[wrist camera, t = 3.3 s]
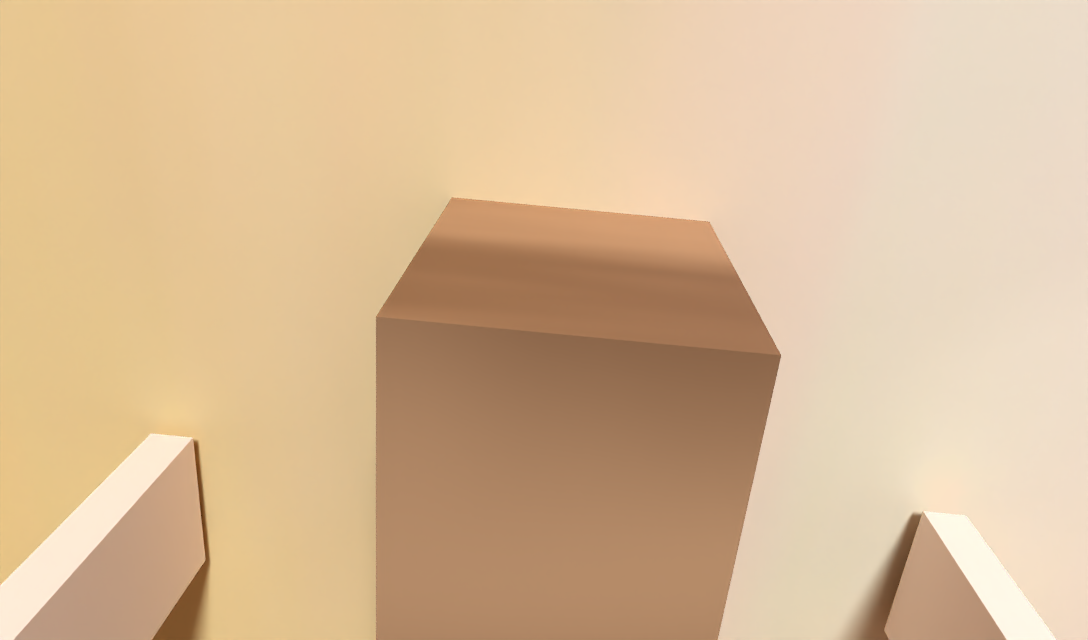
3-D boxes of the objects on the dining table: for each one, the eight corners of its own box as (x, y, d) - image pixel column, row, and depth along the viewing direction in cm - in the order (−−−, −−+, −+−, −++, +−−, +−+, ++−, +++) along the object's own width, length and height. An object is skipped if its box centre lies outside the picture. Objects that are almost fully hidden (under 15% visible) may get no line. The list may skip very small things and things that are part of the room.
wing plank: (453, 194, 12) (375, 316, 8) (707, 218, 12) (781, 355, 8) (432, 736, 17) (376, 1013, 12) (616, 754, 17) (628, 1039, 12)
